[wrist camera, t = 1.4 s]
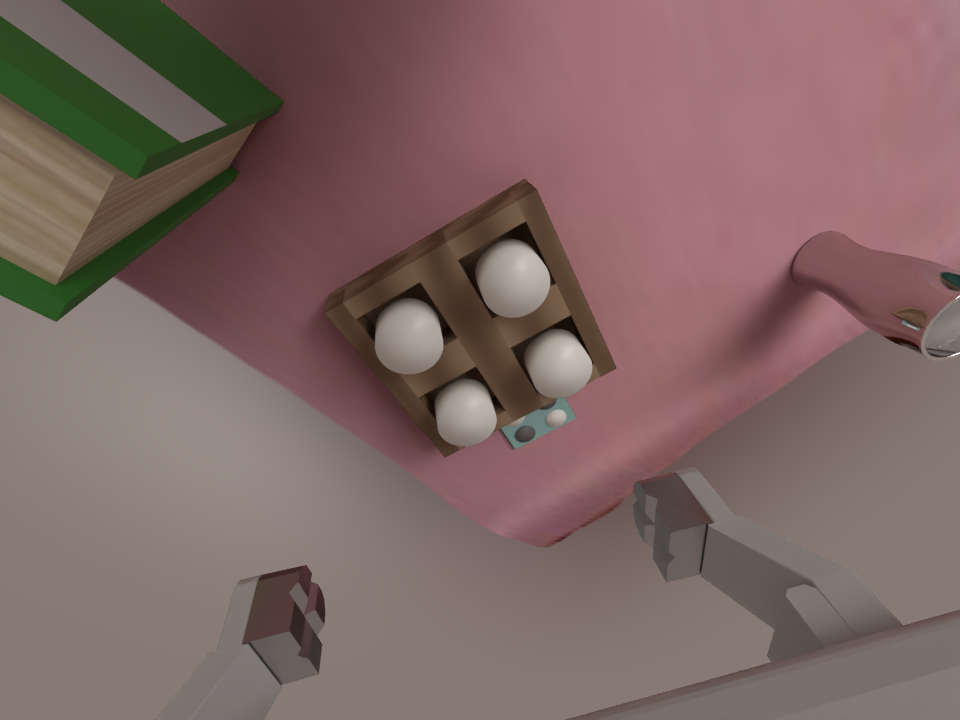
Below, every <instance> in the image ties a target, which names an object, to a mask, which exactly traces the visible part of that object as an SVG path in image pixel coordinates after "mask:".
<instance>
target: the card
mask: <svg viewBox="0 0 960 720" xmlns="http://www.w3.org/2000/svg"><path fill="white" fill-rule="evenodd" d="M574 419H576V417H575V415H574V413H573V412H572V410H571V408H570V406H569V404H568V403H567V401H566V399H565V397H564V398H559V399H557V400H555V401H553V402H551V403H549V404H547V405H545V406H543V407H541V408H539V409H537V410H535V411H533V412H532V413H530V414H528V415H526V416H524V417H522V418H520V419H518V420H516V421H514V422H512V423H510V424H508V425H507V426H505V427H503V428H501V429H502V431H503V432H504V434H505V435H506V437H507V438H508V439H509V441H510V442H511V444H512V445H513V447H514V448H515V449H517V448H519V447H521V446H523V445H525V444H527V443H529V442H531V441H533V440H535V439H537V438H539V437H541V436H543V435H545V434H547V433H549V432H550V431H552V430H554V429H556V428H558V427H560V426H562V425H564V424H566V423H568V422H570V421H572V420H574Z"/></svg>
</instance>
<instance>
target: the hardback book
mask: <svg viewBox="0 0 960 720" xmlns="http://www.w3.org/2000/svg"><path fill="white" fill-rule="evenodd" d="M282 104H283V101H282V100H281V99H280V98H279V97H277V96H276V95H275V94H274V93H272V92H271V91H270V90H269V89H268V88H266V87H265V86H264V85H263V84H261V83H260V82H259V81H258V80H257V79H255V78H254V77H253V76H252V75H250V74H249V73H248V72H247V71H246V70H244V69H243V68H242V67H241V66H239V65H238V64H237V63H236V62H234V61H233V60H232V59H231V58H230V57H228V56H227V55H226V54H225V53H223V52H222V51H221V50H220V49H219V48H217V47H216V46H215V45H214V44H212V43H211V42H210V41H209V40H208V39H206V38H205V37H204V36H203V35H201V34H200V33H199V32H198V31H197V30H195V29H194V28H193V27H192V26H190V25H189V24H188V23H187V22H185V21H184V20H183V19H182V18H181V17H179V16H178V15H177V14H176V13H174V12H173V11H172V10H171V9H170V8H168V7H167V6H166V5H165V4H163V3H162V2H161V1H160V0H0V295H1V296H3V297H5V298H8V299H10V300H12V301H14V302H16V303H18V304H20V305H22V306H24V307H26V308H28V309H31V310H33V311H35V312H37V313H39V314H41V315H43V316H45V317H48V318H49V319H51V320H54V321H58V320H59V319H60V318H61V317H63V316H64V315H65V314H67V313H68V312H69V311H70V310H72V309H73V308H74V307H76V306H77V305H78V304H79V303H81V302H82V301H83V300H84V299H86V298H87V297H88V296H89V295H90V294H92V293H93V292H95V291H96V290H97V289H98V288H99V287H101V286H102V285H103V284H105V283H106V282H107V281H108V280H110V279H111V278H112V277H113V276H115V275H116V274H117V273H119V272H120V271H121V270H122V269H124V268H125V267H126V266H127V265H129V264H130V263H131V262H132V261H134V260H135V259H136V258H138V257H139V256H140V255H141V254H143V253H144V252H145V251H146V250H148V249H149V248H150V247H151V246H153V245H154V244H155V243H156V242H158V241H159V240H160V239H162V238H163V237H164V236H165V235H167V234H168V233H169V232H170V231H172V230H173V229H174V228H175V227H177V226H178V225H179V224H181V223H182V222H183V221H184V220H186V219H187V218H188V217H189V216H191V215H192V214H193V213H194V212H196V211H197V210H198V209H199V208H201V207H202V206H203V205H205V204H206V203H207V202H208V201H210V200H211V199H212V198H213V197H215V196H216V195H217V194H218V193H220V192H221V191H222V190H224V189H225V188H226V187H227V186H229V185H230V184H231V183H232V182H233V181H234V180H235V178H236V176H237V175H238V173H239V172H237V171H236V170H234V169H233V168H232V167H230V164H231V163H232V161H233V159H234V158H235V156H236V155H237V153H238V151H239V150H240V148H241V147H242V145H243V143H244V142H245V140H246V139H247V137H248V135H249V134H250V132H251V131H252V129H253V127H254V126H255V124H256V123H257V122H258V121H260V120H262V119H264V118H266V117H269V116H271V115H273V114H275V113H277V112H278V110H279V109H280V107H281V106H282Z"/></svg>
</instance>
